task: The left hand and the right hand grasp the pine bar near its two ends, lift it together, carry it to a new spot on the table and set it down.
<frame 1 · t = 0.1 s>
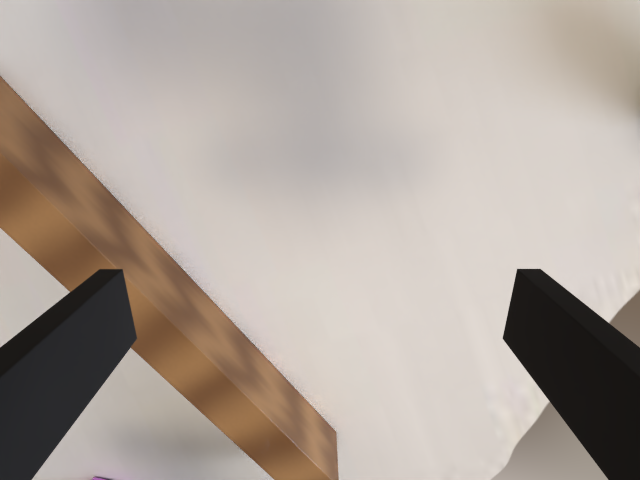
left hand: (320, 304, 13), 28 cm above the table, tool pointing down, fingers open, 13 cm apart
bar: (179, 295, 44), on the table
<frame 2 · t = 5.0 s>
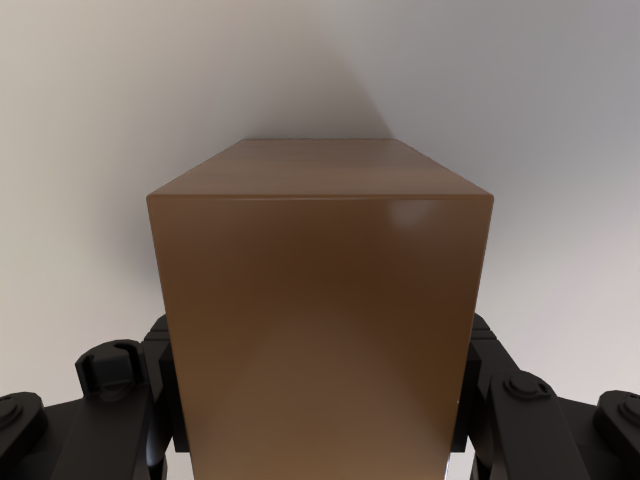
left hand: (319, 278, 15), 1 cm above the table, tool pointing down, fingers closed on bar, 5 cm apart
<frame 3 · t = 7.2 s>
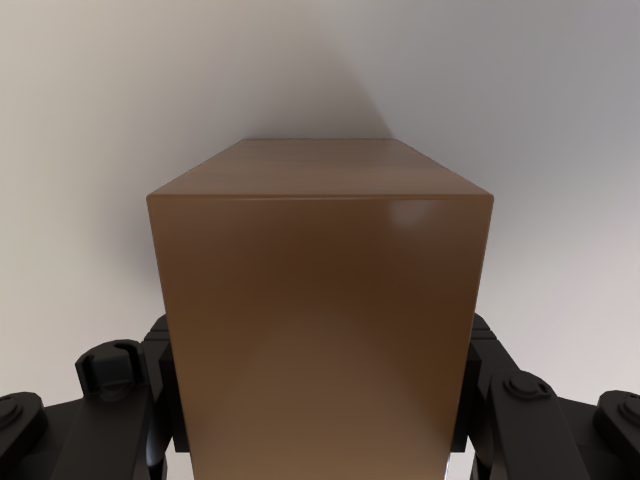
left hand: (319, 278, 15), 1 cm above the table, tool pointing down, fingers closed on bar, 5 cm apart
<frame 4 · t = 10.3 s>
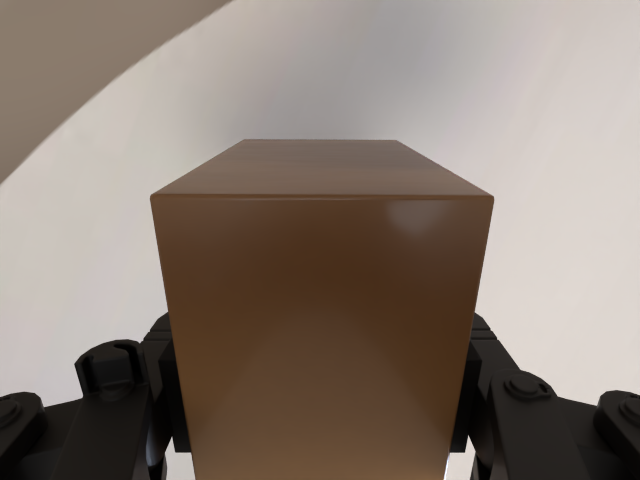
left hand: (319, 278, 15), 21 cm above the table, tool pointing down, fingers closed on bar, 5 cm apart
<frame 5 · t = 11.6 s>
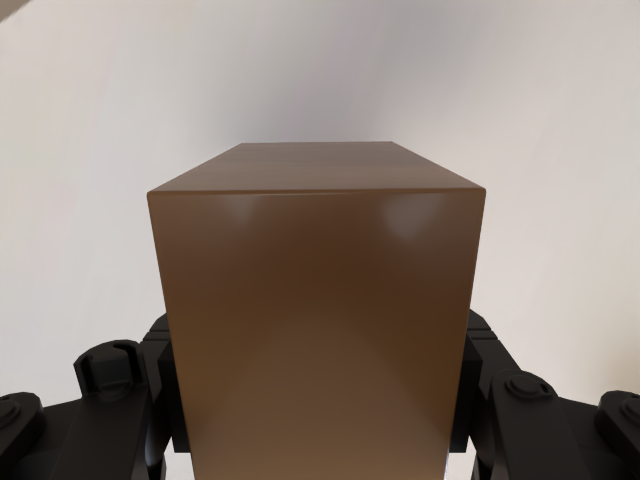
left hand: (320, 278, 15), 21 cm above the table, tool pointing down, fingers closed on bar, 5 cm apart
when the left hand's fingers open (1 cm above the table, at t = 15.8 s): bar stays where it is, on the table.
when the right hand's fingers open (1 cm above the table, at t = 15.8 s): bar stays where it is, on the table.
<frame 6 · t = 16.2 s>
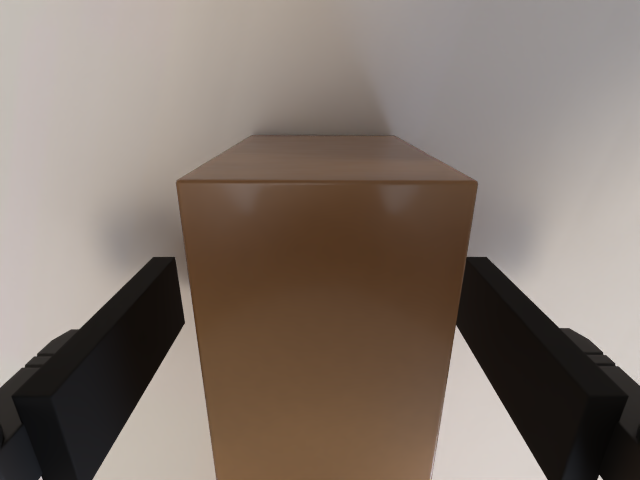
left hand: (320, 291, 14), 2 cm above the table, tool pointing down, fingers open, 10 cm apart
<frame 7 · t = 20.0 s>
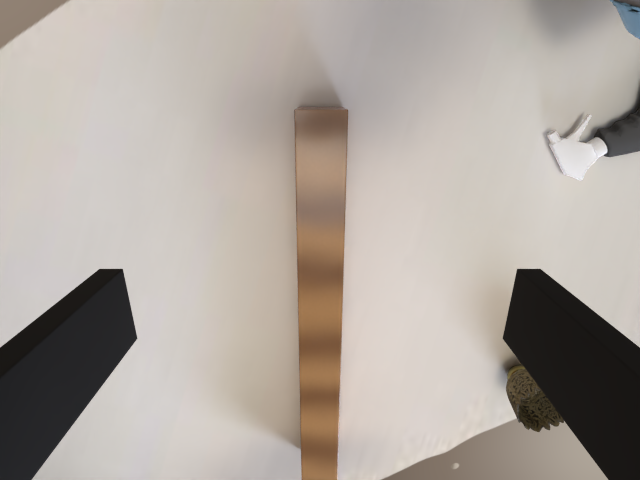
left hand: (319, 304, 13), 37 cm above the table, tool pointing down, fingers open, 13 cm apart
cup: (516, 371, 60), on the table
bar: (320, 311, 56), on the table
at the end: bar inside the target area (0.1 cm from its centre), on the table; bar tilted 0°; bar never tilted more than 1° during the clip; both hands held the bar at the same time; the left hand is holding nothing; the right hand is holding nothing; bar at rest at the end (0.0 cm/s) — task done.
